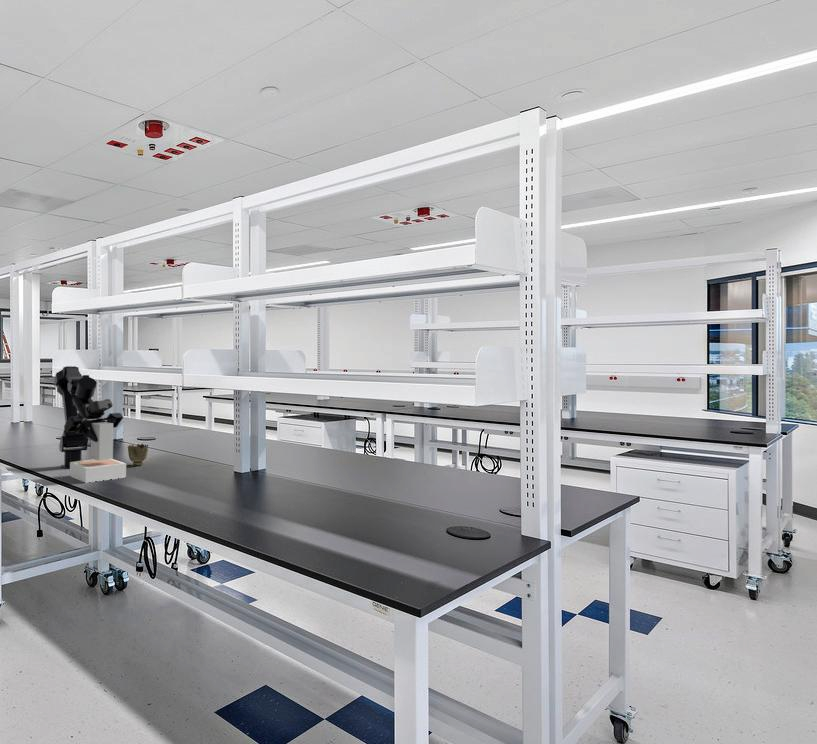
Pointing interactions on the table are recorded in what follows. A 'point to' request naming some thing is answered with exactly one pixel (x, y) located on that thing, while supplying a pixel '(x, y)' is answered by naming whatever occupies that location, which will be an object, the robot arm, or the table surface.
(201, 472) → the table surface
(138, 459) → the cup
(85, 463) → the trapdoor
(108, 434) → the stone pillar
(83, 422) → the robot arm
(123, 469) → the trapdoor frame
